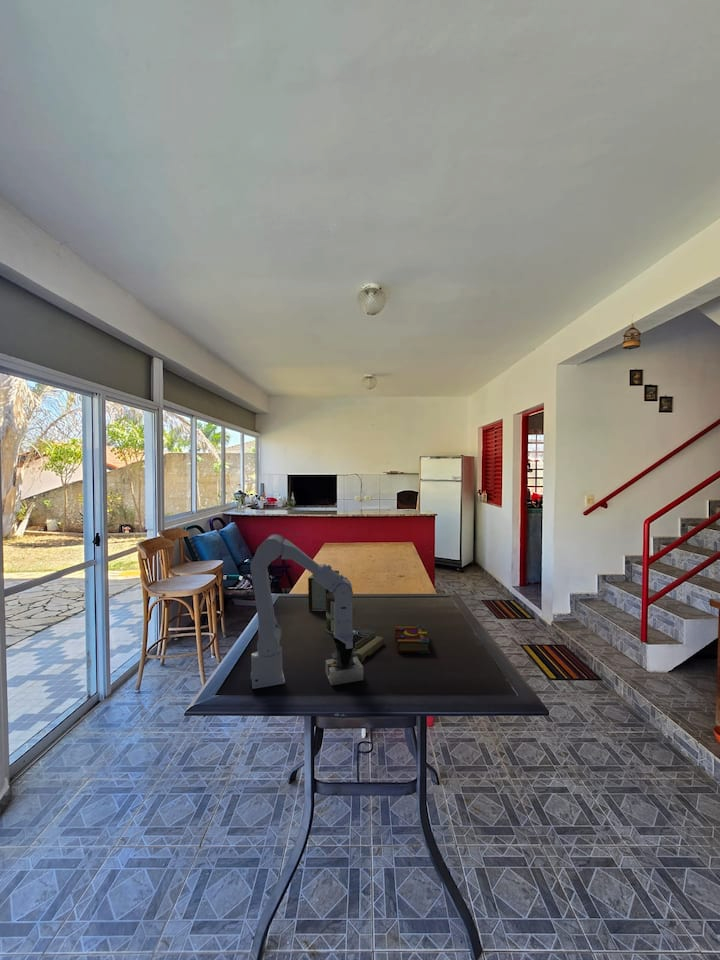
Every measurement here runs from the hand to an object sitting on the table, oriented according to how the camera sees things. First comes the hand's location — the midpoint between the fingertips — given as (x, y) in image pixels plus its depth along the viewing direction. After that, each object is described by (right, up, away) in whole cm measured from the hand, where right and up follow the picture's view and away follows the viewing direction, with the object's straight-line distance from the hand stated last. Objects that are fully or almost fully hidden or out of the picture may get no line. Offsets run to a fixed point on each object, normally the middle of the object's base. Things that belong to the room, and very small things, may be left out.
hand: (343, 662), depth 122 cm
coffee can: (-4, -4, +37) cm, 37 cm away
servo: (0, -2, 0) cm, 2 cm away
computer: (+6, -5, +18) cm, 19 cm away
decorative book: (+24, -4, +23) cm, 33 cm away
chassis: (0, -4, 0) cm, 4 cm away
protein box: (-12, -4, +64) cm, 66 cm away
